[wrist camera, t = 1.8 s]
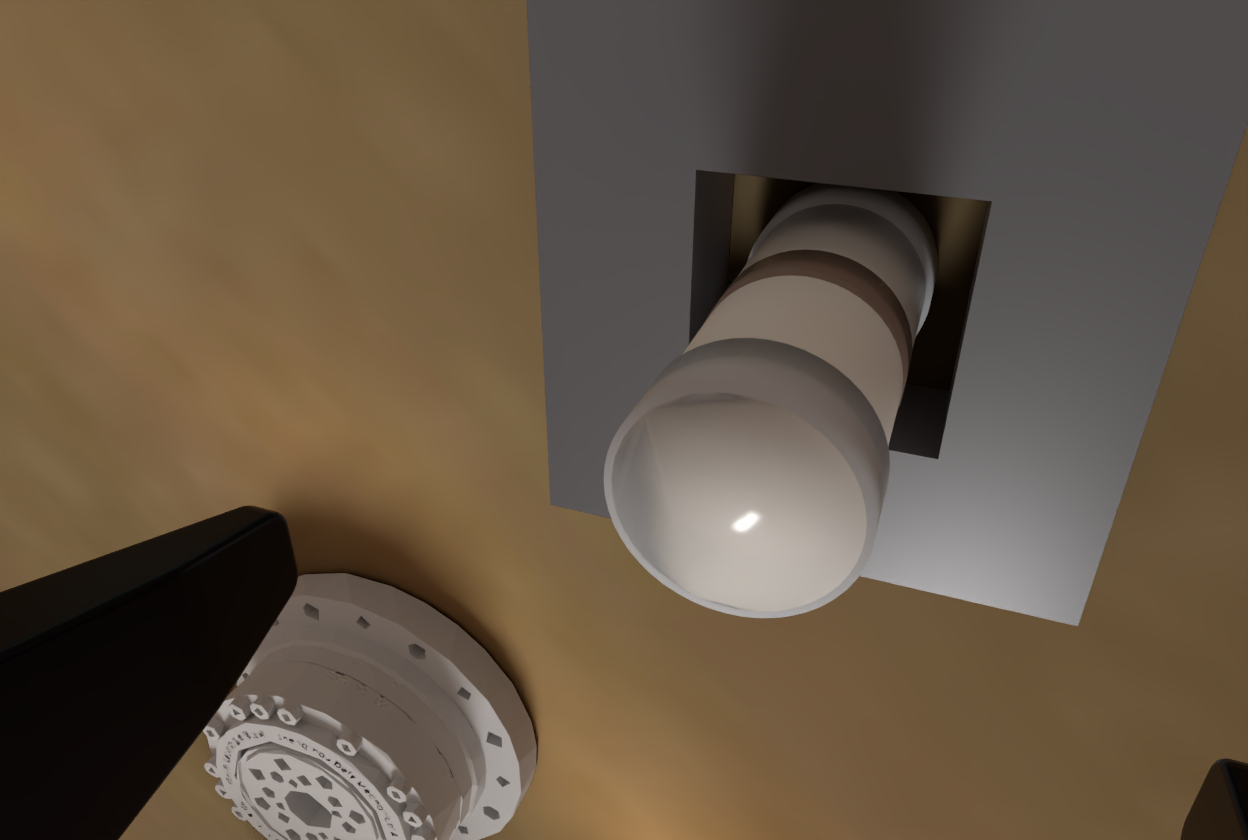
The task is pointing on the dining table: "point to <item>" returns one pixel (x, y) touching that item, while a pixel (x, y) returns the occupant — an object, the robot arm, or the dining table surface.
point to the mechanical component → (370, 723)
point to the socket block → (916, 163)
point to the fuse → (780, 411)
